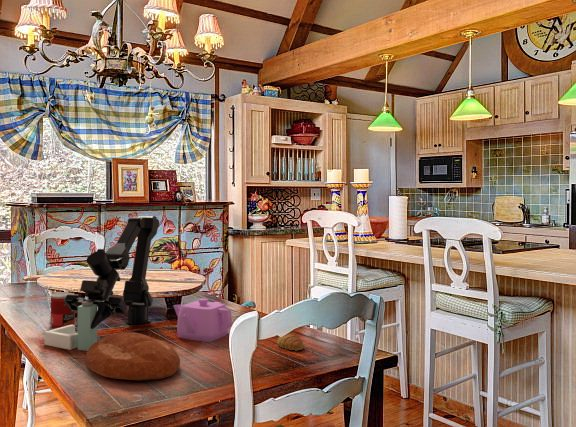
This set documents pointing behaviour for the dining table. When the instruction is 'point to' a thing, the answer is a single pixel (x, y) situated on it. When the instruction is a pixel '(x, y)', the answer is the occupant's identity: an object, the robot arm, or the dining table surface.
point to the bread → (132, 357)
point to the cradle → (62, 337)
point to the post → (86, 325)
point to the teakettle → (203, 320)
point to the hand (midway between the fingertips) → (84, 327)
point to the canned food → (61, 311)
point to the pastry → (290, 342)
